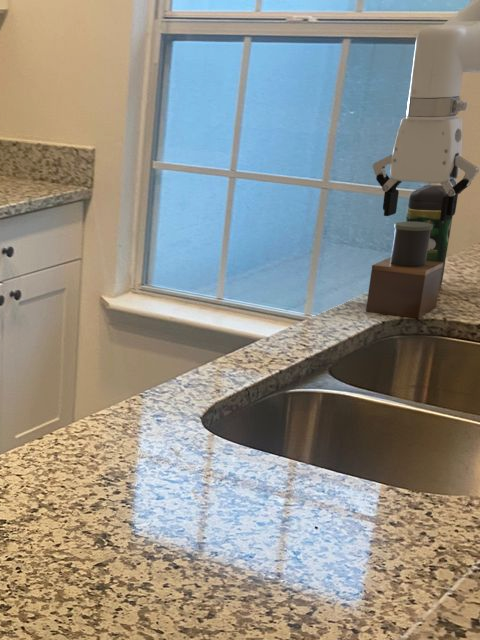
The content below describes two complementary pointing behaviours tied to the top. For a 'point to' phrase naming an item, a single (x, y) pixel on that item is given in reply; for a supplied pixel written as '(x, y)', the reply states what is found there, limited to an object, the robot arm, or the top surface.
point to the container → (410, 243)
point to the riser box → (404, 288)
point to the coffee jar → (431, 220)
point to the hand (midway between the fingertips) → (417, 217)
